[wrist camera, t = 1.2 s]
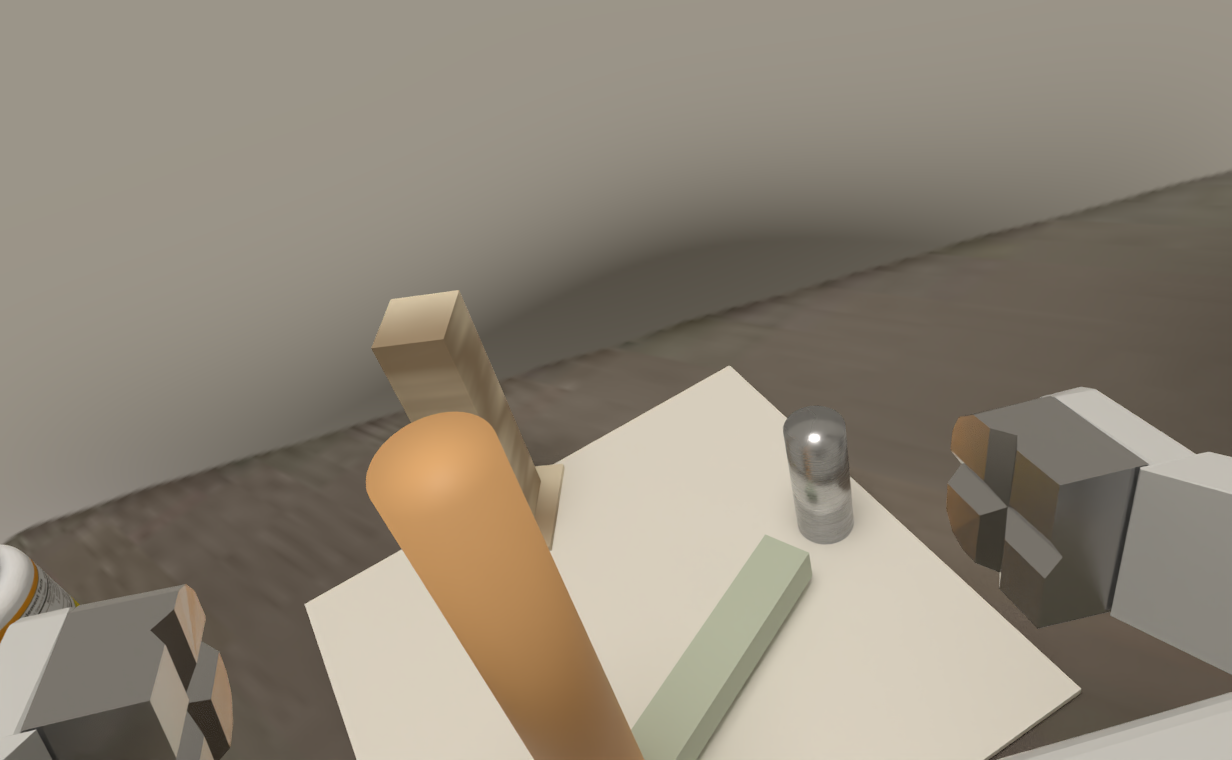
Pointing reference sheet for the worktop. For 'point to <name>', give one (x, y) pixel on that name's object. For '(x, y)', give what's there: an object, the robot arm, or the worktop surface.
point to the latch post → (459, 385)
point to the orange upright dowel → (557, 603)
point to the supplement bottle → (26, 589)
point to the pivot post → (819, 473)
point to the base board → (707, 612)
